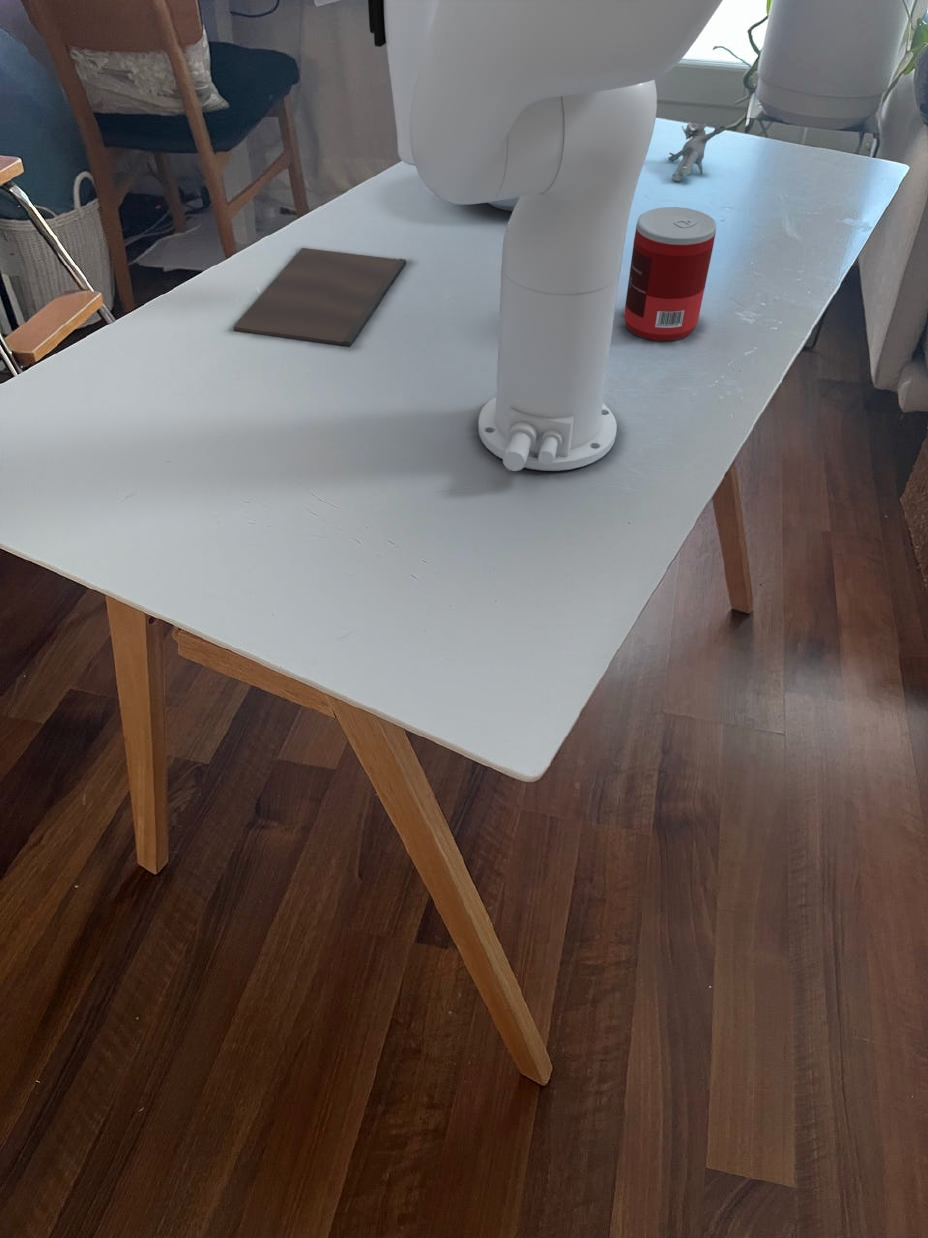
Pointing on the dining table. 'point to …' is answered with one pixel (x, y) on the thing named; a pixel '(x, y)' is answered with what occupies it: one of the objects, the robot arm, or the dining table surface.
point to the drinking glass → (406, 59)
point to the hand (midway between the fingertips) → (421, 44)
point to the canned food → (668, 272)
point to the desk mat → (322, 297)
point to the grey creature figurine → (693, 148)
